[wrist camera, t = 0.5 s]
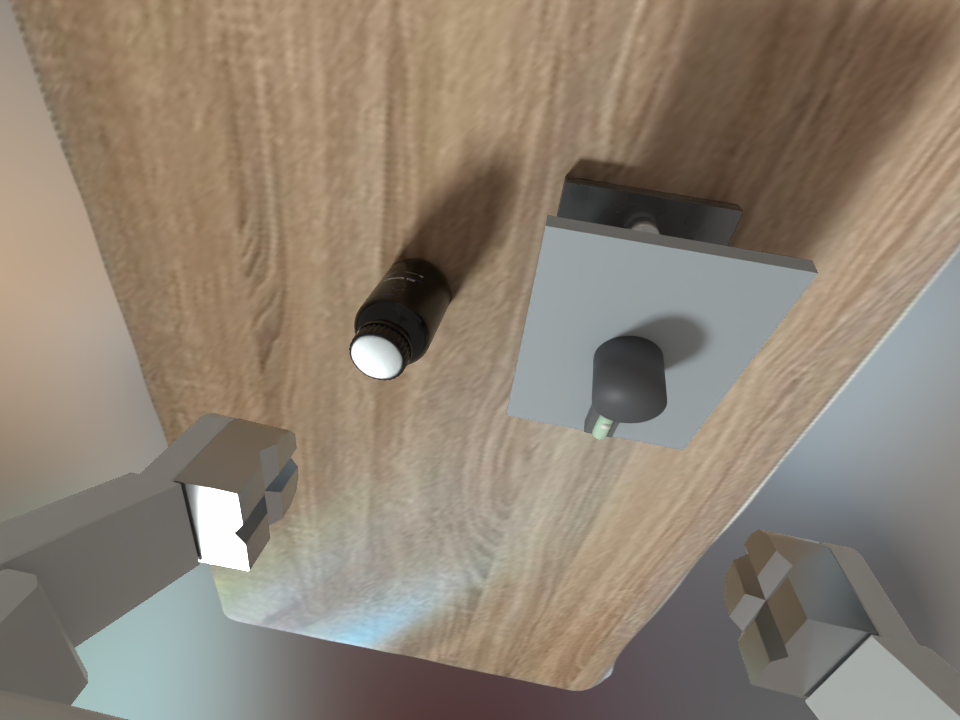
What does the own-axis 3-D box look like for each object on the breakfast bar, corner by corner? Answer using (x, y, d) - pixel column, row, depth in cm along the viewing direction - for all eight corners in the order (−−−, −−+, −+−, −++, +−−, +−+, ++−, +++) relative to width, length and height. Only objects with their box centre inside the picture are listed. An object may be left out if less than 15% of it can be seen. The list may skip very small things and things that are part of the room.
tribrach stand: (565, 176, 40) (562, 213, 33) (737, 204, 39) (772, 249, 32) (527, 351, 51) (519, 408, 44) (662, 377, 50) (675, 439, 43)
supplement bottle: (418, 242, 46) (375, 305, 36) (465, 295, 48) (437, 367, 39) (371, 281, 49) (320, 348, 40) (417, 329, 52) (380, 402, 42)
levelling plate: (548, 209, 31) (538, 266, 27) (809, 254, 30) (838, 319, 26) (509, 399, 46) (499, 452, 42) (681, 433, 45) (687, 491, 41)
